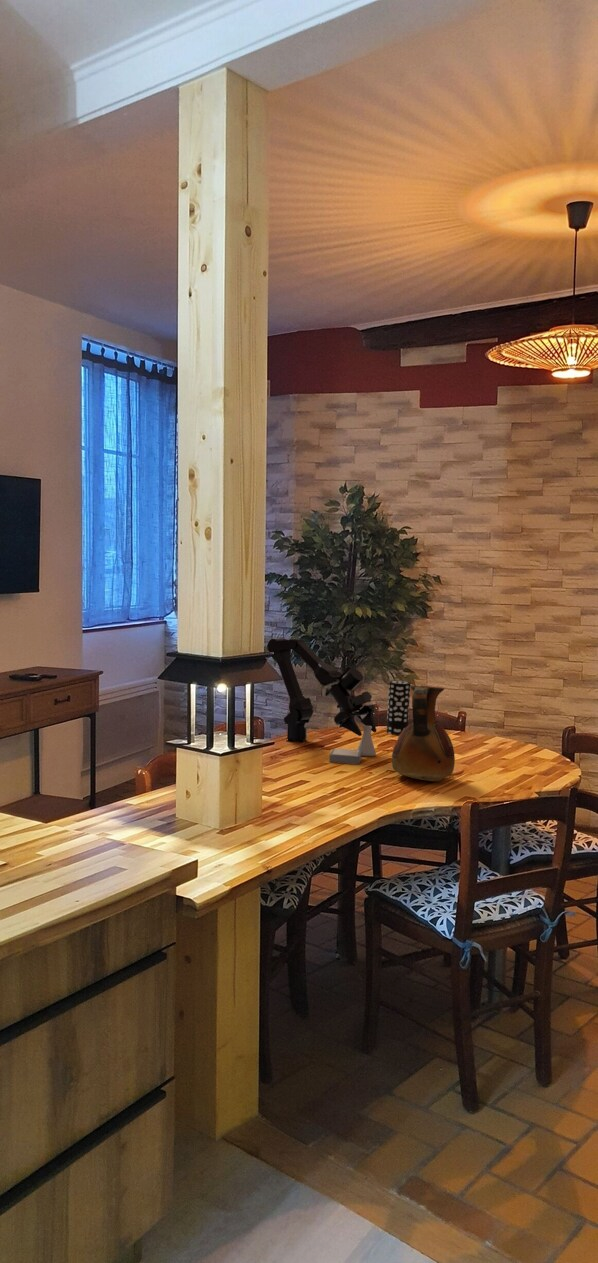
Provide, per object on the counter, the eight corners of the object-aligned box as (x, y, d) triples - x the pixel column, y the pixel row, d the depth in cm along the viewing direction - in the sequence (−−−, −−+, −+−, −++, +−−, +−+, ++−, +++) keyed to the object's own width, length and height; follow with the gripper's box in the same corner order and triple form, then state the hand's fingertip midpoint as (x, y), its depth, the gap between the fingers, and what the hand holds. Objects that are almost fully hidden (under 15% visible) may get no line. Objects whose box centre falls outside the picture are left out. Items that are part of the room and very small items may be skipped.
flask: (376, 757, 320) (378, 729, 319) (355, 756, 320) (357, 728, 319) (375, 752, 327) (377, 725, 326) (355, 751, 327) (356, 724, 326)
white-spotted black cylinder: (396, 729, 370) (399, 680, 368) (412, 733, 364) (414, 683, 362) (382, 731, 365) (384, 681, 363) (397, 735, 358) (400, 684, 357)
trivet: (329, 762, 309) (329, 754, 309) (332, 755, 319) (333, 747, 319) (359, 764, 308) (359, 756, 308) (361, 757, 318) (362, 750, 318)
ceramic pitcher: (456, 775, 300) (462, 683, 297) (449, 790, 280) (455, 692, 278) (396, 768, 305) (401, 678, 302) (385, 782, 286) (391, 686, 283)
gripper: (342, 686, 316) (368, 723, 311) (372, 681, 331) (397, 716, 326) (323, 706, 322) (347, 742, 316) (353, 700, 337) (377, 735, 331)
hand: (368, 733), depth 322 cm, fingers open, 9 cm apart
